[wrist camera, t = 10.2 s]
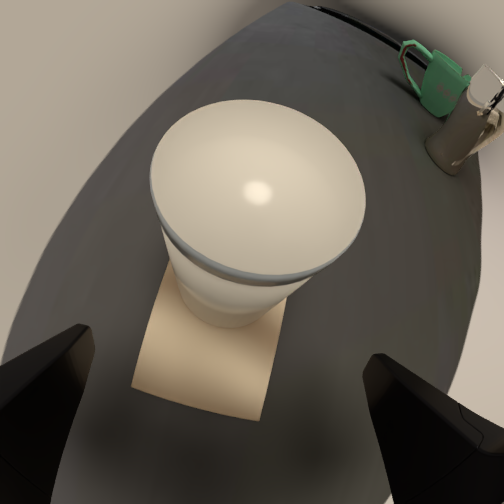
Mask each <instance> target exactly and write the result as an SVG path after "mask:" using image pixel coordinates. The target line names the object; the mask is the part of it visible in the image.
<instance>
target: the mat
mask: <svg viewBox="0 0 504 504" xmlns="http://www.w3.org/2000/svg"><path fill="white" fill-rule="evenodd" d="M286 299H287V297H286V298H285V299H284V300H282V301H281V302H280V303H279V304H277V305H276V306H275V307H273V308H272V309H271V310H270V311H268V312H267V313H266V314H264V315H263V316H262V317H260V318H259V319H258V320H256V321H254V322H253V323H251V324H248V325H246V326H242V327H237V328H222V327H217V326H213V325H210V324H208V323H206V322H204V321H202V320H201V319H199V318H198V317H197V316H195V315H194V314H193V313H192V312H191V311H190V310H189V308H188V307H187V306H186V304H185V303H184V301H183V299H182V297H181V294H180V291H179V288H178V285H177V281H176V278H175V275H174V271H173V268H172V264H171V261H170V260H169V263H168V265H167V268H166V271H165V274H164V277H163V280H162V283H161V286H160V289H159V292H158V295H157V298H156V301H155V304H154V307H153V310H152V313H151V316H150V320H149V323H148V326H147V330H146V333H145V336H144V340H143V343H142V347H141V350H140V354H139V358H138V361H137V365H136V369H135V373H134V377H133V381H132V385H131V387H133V388H135V389H138V390H141V391H143V392H146V393H149V394H152V395H155V396H158V397H161V398H164V399H167V400H170V401H174V402H177V403H180V404H184V405H187V406H191V407H195V408H198V409H202V410H206V411H210V412H214V413H219V414H223V415H228V416H233V417H238V418H243V419H248V420H254V421H259V419H260V415H261V411H262V407H263V403H264V399H265V395H266V391H267V387H268V383H269V378H270V374H271V370H272V365H273V361H274V356H275V352H276V347H277V343H278V338H279V333H280V328H281V324H282V319H283V314H284V309H285V304H286Z"/></svg>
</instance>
